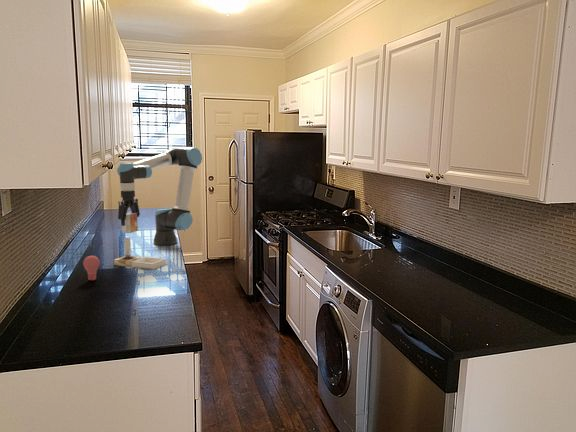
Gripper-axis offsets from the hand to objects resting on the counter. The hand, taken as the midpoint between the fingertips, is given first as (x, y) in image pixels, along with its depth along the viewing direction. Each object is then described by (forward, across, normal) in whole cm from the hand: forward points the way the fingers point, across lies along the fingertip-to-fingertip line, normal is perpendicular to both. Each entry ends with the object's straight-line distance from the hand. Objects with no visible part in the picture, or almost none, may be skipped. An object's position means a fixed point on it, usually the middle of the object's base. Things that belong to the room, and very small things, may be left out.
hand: (130, 229), depth 251 cm
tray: (+16, +12, +21) cm, 29 cm away
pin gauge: (+16, +13, +8) cm, 22 cm away
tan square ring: (+16, +13, +8) cm, 22 cm away
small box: (+2, 0, 0) cm, 2 cm away
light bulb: (+16, +44, +12) cm, 48 cm away
